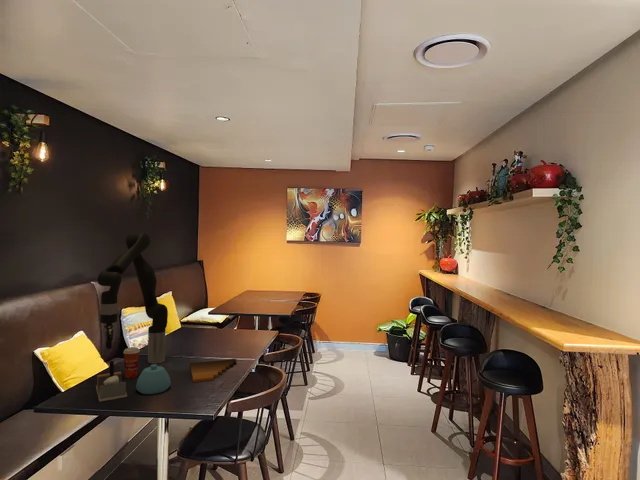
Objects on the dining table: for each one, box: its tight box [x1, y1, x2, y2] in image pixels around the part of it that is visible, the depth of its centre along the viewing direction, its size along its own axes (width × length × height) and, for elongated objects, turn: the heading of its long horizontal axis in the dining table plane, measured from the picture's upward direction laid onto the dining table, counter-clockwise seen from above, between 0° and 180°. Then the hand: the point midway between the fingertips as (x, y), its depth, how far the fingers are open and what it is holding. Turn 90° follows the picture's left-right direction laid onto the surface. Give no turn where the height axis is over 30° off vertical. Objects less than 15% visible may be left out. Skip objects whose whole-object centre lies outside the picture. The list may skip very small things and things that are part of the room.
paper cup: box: [123, 347, 141, 379], centre depth 208 cm, size 8×8×14 cm
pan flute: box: [189, 358, 237, 383], centre depth 217 cm, size 25×3×25 cm
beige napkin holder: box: [95, 381, 128, 402], centre depth 187 cm, size 19×11×6 cm, turn 33°
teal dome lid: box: [135, 363, 171, 395], centre depth 191 cm, size 15×15×12 cm
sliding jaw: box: [96, 371, 122, 387], centre depth 193 cm, size 2×10×5 cm, turn 123°
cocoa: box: [103, 360, 119, 385], centre depth 186 cm, size 10×6×12 cm, turn 5°
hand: (108, 347), depth 199 cm, fingers open, 3 cm apart
